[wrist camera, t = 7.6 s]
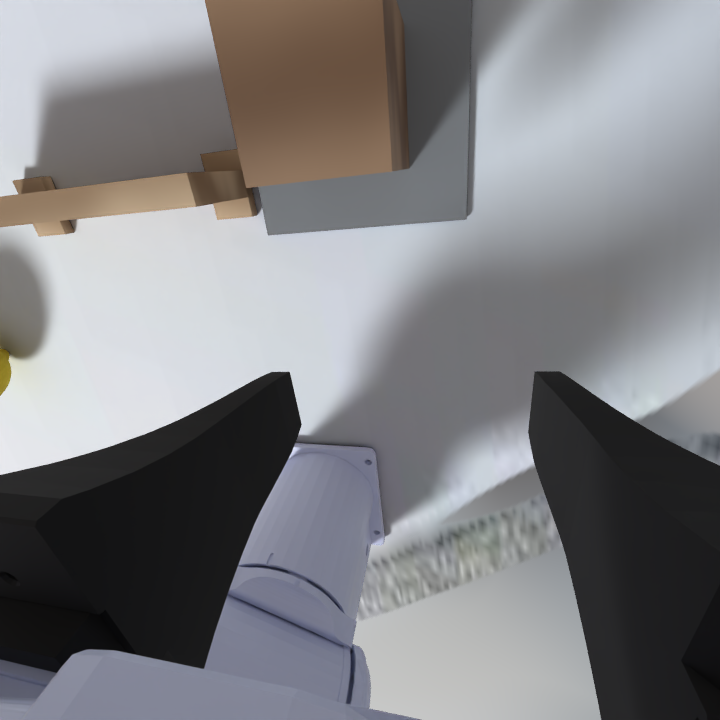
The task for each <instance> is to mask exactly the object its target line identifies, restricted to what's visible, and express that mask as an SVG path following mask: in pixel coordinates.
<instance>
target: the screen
mask: <svg viewBox="0 0 720 720" xmlns="http://www.w3.org/2000/svg"><path fill="white" fill-rule="evenodd" d="M200 155H201V159H202V162H203V166H204V170H205V172H191V173H180V174H173V175H165V176H157V177H150V178H142V179H134V180H126V181H119V182H111V183H103V184H95V185H88V186H80V187H72V188H64V189H57V190H56V189H55V186H54V184H53V182H52V179H51V177H36V178H28V179H21V180H14V181H13V183H14V185H15V188H16V190H17V192H18V195H10V196H3V197H0V227H6V226H15V225H25V224H33V225H34V227H35V230H36V232H37V234H38V236H50V235H61V234H68V233H74V230H73V228H72V226H71V223H70V221H69V220H73V219H82V218H92V217H101V216H111V215H121V214H130V213H140V212H149V211H159V210H169V209H178V208H188V207H197V206H202V205H208V204H213V205H214V208H215V212H216V216H217V220H221V219H232V218H242V217H253V216H256V215H257V210H256V205H255V201H254V196H253V191H252V187H251V188H246V185H245V181H244V176H243V171H242V167H241V162H240V158H239V153H238V149H234V150H227V151H220V152H213V153H206V154H200Z"/></svg>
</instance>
